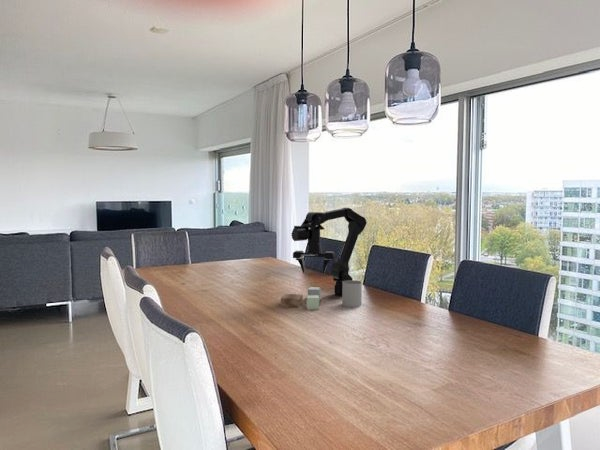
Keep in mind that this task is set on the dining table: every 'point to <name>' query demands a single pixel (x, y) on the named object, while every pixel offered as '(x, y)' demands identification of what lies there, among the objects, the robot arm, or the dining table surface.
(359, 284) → the cup
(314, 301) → the sage cube
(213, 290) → the dining table surface
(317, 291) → the grey cube
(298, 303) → the walnut base
